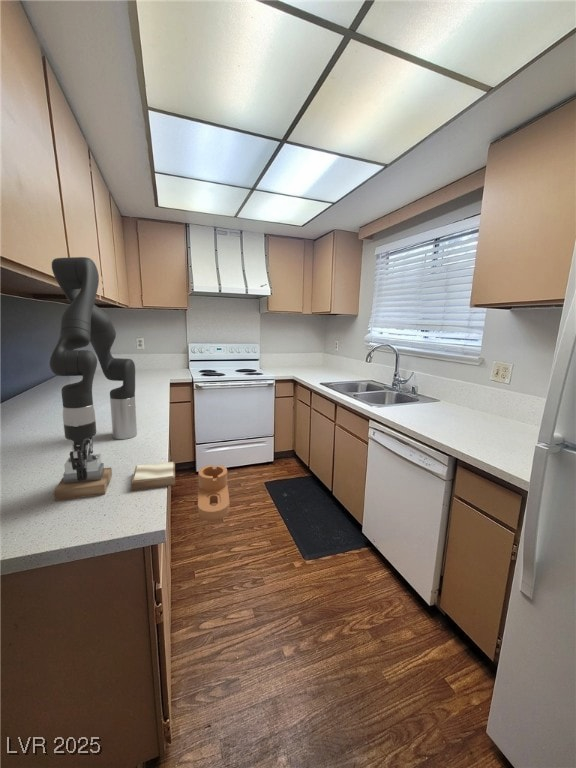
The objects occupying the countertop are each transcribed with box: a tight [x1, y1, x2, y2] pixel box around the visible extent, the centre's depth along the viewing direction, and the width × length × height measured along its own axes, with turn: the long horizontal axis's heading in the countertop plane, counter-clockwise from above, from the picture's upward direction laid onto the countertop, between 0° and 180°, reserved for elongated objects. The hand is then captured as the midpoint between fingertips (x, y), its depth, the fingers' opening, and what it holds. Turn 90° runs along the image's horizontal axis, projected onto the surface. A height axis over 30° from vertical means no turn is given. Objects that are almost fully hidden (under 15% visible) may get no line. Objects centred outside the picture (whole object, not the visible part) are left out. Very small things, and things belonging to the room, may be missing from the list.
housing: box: [62, 453, 105, 484], centre depth 90 cm, size 5×9×6 cm, turn 110°
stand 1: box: [53, 466, 113, 502], centre depth 91 cm, size 11×12×3 cm
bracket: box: [197, 464, 230, 522], centre depth 87 cm, size 18×8×7 cm, turn 15°
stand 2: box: [131, 461, 176, 492], centre depth 97 cm, size 11×12×3 cm
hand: (84, 474), depth 90 cm, fingers closed on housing, 5 cm apart
